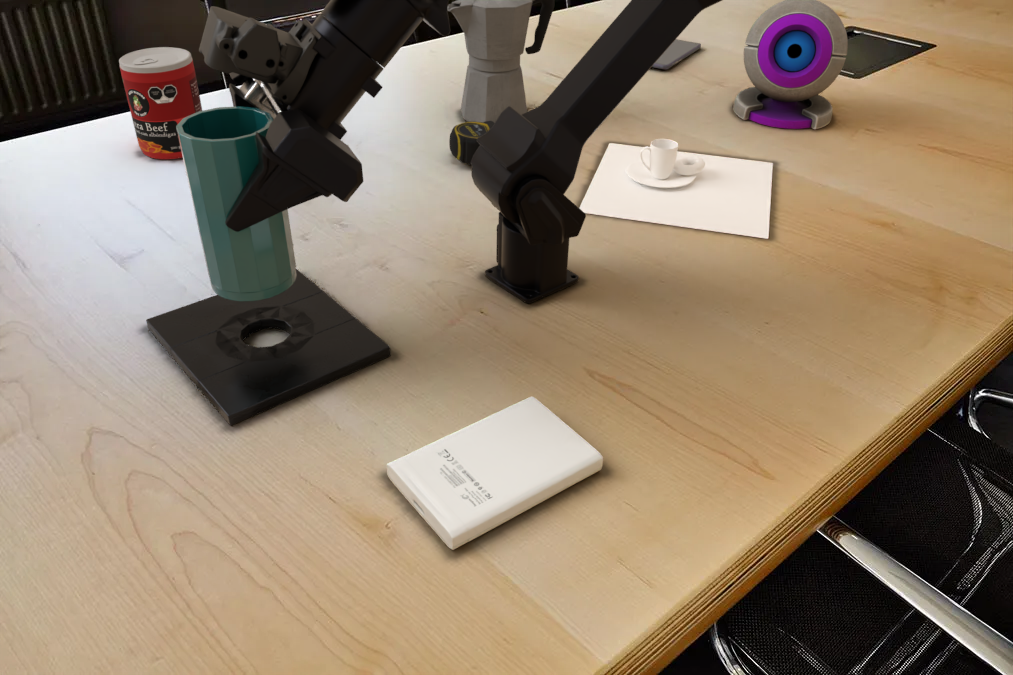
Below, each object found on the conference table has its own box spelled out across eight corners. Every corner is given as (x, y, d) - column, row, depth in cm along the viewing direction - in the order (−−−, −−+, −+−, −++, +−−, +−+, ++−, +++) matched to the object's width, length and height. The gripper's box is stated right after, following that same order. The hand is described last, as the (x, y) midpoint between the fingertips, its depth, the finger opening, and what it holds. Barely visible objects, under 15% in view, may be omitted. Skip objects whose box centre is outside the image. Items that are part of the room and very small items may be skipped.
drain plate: (391, 356, 70) (390, 346, 70) (230, 426, 63) (228, 415, 62) (296, 276, 80) (295, 267, 79) (148, 329, 73) (145, 319, 72)
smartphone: (703, 43, 141) (667, 65, 130) (702, 49, 141) (667, 71, 130) (660, 35, 144) (622, 56, 133) (659, 41, 144) (621, 63, 134)
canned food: (126, 152, 103) (103, 60, 96) (176, 131, 108) (157, 42, 102) (173, 165, 100) (152, 71, 93) (222, 142, 106) (205, 52, 99)
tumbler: (286, 252, 72) (262, 101, 64) (305, 291, 67) (282, 132, 59) (205, 267, 70) (171, 113, 62) (218, 309, 65) (183, 147, 57)
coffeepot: (468, 135, 109) (467, -14, 98) (434, 112, 115) (429, -30, 105) (567, 115, 115) (576, -27, 105) (530, 93, 122) (535, -42, 112)
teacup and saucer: (704, 168, 102) (710, 135, 99) (698, 196, 95) (704, 162, 93) (631, 159, 104) (635, 126, 101) (620, 186, 97) (624, 152, 95)
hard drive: (602, 472, 59) (452, 553, 53) (530, 410, 65) (386, 477, 59) (604, 455, 59) (452, 535, 52) (531, 393, 64) (385, 459, 58)
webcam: (728, 122, 114) (748, 5, 105) (738, 92, 124) (758, -17, 115) (829, 136, 111) (859, 16, 102) (832, 104, 121) (859, -8, 112)
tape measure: (514, 167, 101) (515, 137, 99) (458, 173, 99) (457, 143, 97) (496, 145, 106) (497, 116, 104) (443, 151, 105) (442, 121, 102)
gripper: (235, -63, 63) (113, 102, 66) (292, -4, 49) (134, 203, 52) (349, 34, 70) (235, 180, 73) (426, 110, 57) (282, 286, 59)
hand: (222, 207), depth 64 cm, fingers closed on tumbler, 7 cm apart
